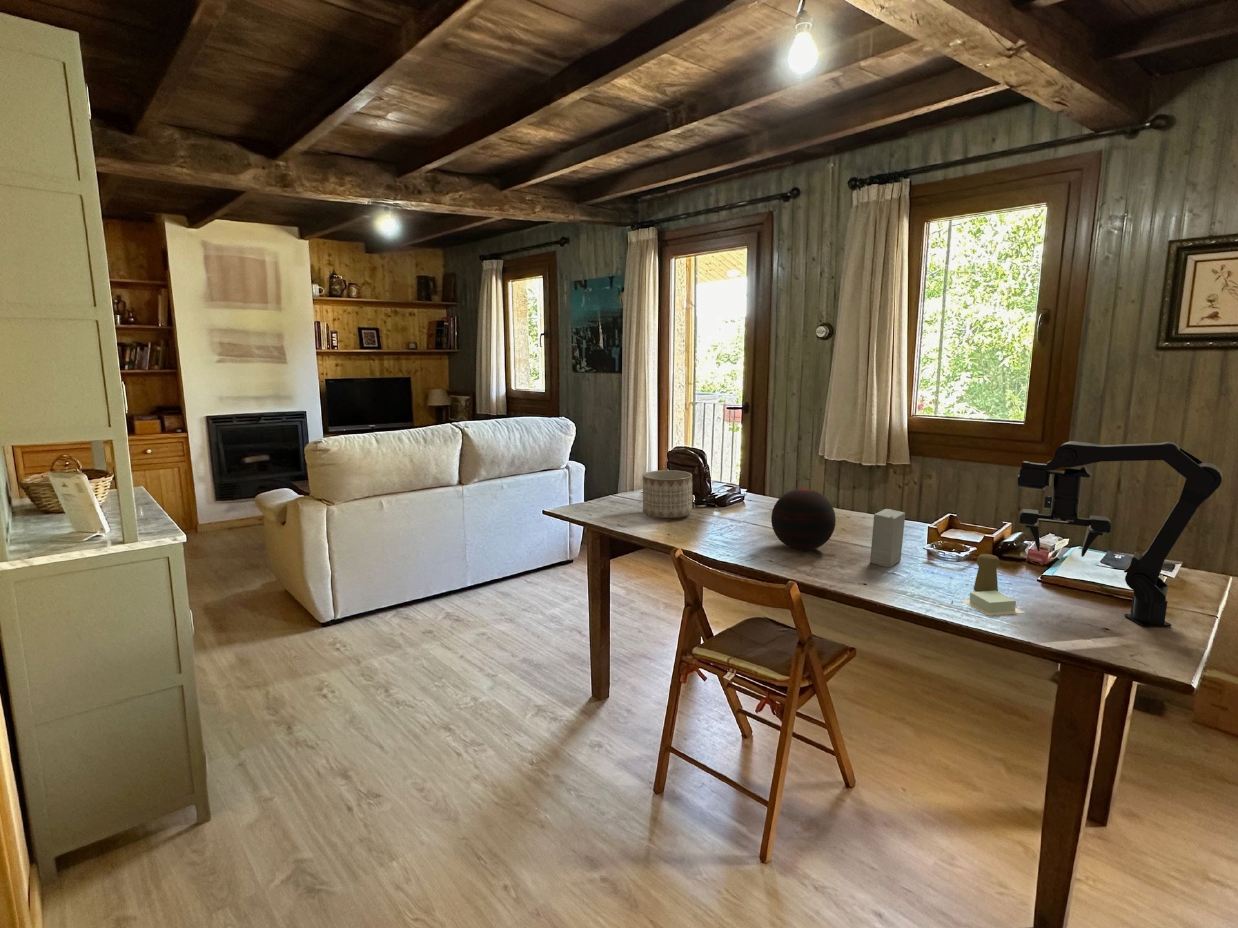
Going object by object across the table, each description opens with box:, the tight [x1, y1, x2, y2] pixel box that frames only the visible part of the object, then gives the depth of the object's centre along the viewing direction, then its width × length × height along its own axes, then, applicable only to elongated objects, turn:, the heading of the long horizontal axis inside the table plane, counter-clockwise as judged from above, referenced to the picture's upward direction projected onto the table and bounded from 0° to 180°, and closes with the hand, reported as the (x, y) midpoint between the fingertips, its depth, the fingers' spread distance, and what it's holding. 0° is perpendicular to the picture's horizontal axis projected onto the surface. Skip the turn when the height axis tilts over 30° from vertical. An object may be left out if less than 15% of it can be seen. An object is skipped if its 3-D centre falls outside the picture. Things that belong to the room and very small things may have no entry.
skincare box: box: [869, 508, 906, 568], centre depth 200 cm, size 8×7×16 cm
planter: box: [642, 469, 693, 520], centre depth 261 cm, size 19×19×16 cm
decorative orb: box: [770, 488, 837, 552], centre depth 214 cm, size 20×20×20 cm
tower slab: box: [960, 598, 1026, 616], centre depth 164 cm, size 10×10×2 cm
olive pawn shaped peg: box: [973, 553, 1000, 592], centre depth 174 cm, size 6×6×11 cm
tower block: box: [969, 590, 1017, 613], centre depth 163 cm, size 7×7×2 cm
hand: (1060, 553), depth 167 cm, fingers open, 9 cm apart
